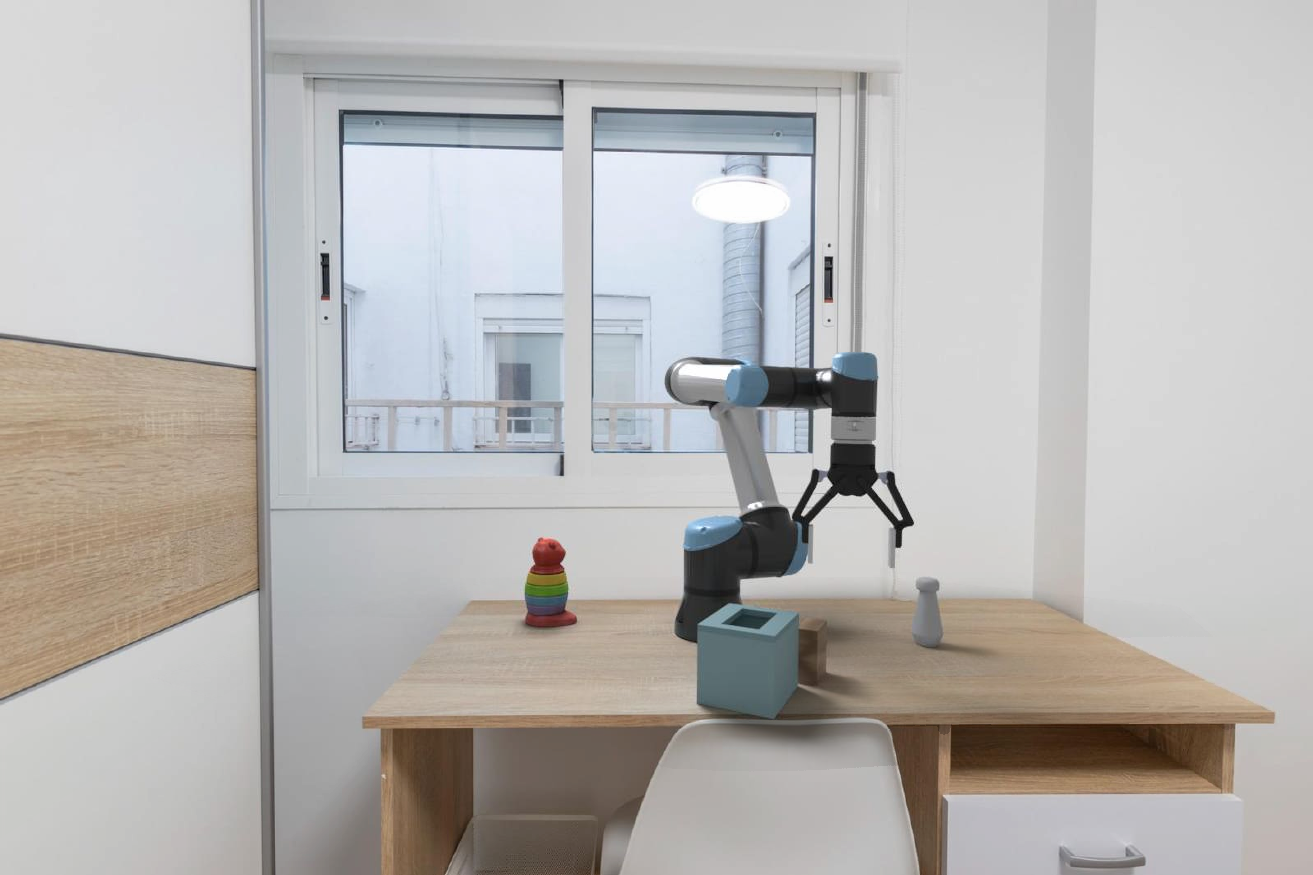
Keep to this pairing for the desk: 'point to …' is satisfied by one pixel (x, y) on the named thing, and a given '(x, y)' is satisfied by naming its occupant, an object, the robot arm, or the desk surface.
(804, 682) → the block
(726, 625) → the coin box
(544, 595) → the stacking bear
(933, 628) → the salt shaker
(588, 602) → the desk surface
